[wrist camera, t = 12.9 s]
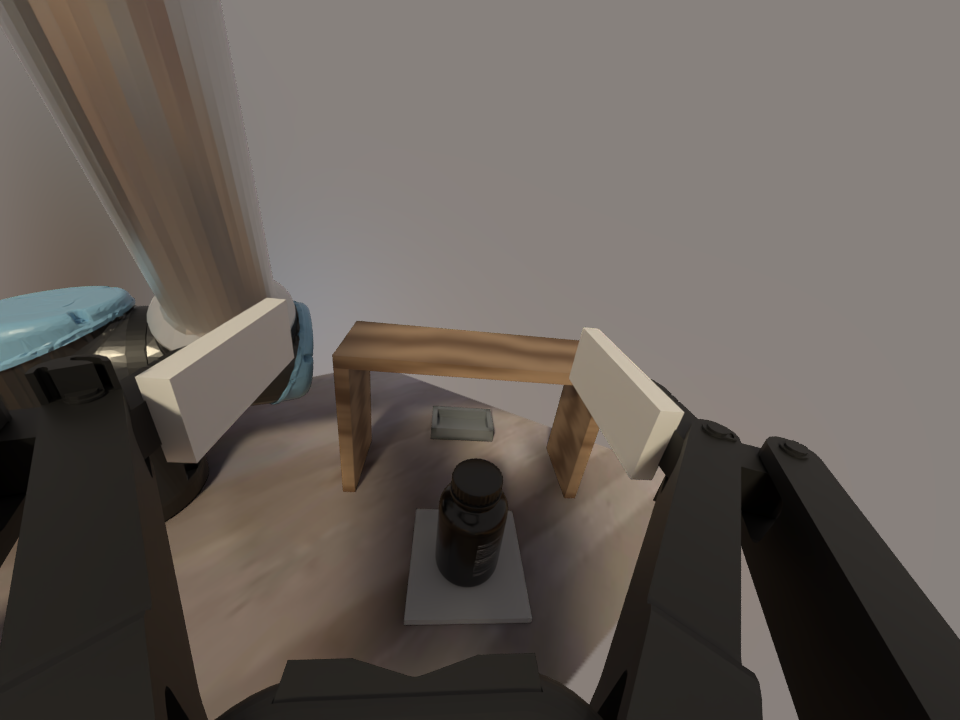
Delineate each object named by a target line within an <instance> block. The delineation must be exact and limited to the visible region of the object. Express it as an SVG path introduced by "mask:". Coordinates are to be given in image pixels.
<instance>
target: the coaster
mask: <svg viewBox="0 0 960 720" xmlns="http://www.w3.org/2000/svg"><path fill="white" fill-rule="evenodd" d="M438 510H439V509H416V517H415V526H414V535H413V544H412V553H411V562H410V571H409V580H408V589H407V598H406V607H405V616H404V625H432V624H491V623H531V620H532V615H531V609H530V604H529V599H528V593H527V588H526V582H525V577H524V572H523V566H522V561H521V555H520V550H519V545H518V539H517V534H516V528H515V523H514V518H513V512H512V511H508V515H507V520H506V525H505V530H504V534H503V539H502V544H501V549H500V554H499V558H498V563H497V566H496V569H495V571H494V573H493V574H492V576H491V577H490V578H489V579H488V580H487V581H486V582H484V583H483V584H481V585H478V586H475V587H460V586H456V585H454V584H452V583H450V582H449V581H447V580H446V579H445V578H444V577H443V576H442V574H441V573H440V571H439V569H438V567H437V564H436V559H435V550H436V536H437V523H438Z"/></svg>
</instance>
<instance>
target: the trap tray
mask: <svg viewBox="0 0 960 720" xmlns="http://www.w3.org/2000/svg"><path fill="white" fill-rule="evenodd" d="M493 433H494V429H493V423H492V417H491V411H490V409H478V408H461V407H445V406H433V416H432V427H431V439H448V440H469V441H489V442H492V439H493Z"/></svg>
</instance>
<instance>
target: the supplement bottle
mask: <svg viewBox="0 0 960 720" xmlns="http://www.w3.org/2000/svg"><path fill="white" fill-rule="evenodd" d="M502 485H503V476H502V473H501V472H500V470H499V469H498V468H497V466H495V465H494V464H493V463H490V462H489V461H486V460H482V459H477V458H475V459H467V460H465V461H462V462H461V463H459V464H458V465H457V466H456V468H455V469H454V471H453V474H452V481H451V483H450V484H449V485H448V486H447V487H446V488H445V489H444V491H443V492H442V494H441V497H440V501H439V510H438V523H437V536H436V550H435V559H436V564H437V567H438V569H439V571H440V573H441V574H442V576H443V577H444V578H445V579H446V580H447V581H449V582H450V583H452V584H454V585H456V586H460V587H475V586H478V585H481V584H483V583H484V582H486V581H487V580H488V579H489V578H490V577H491V576H492V574H493V573H494V571H495V569H496V566H497V563H498V558H499V554H500V549H501V544H502V539H503V534H504V530H505V525H506V520H507V515H508V503H507V499H506V497H505V495H504V493H503V491H502Z"/></svg>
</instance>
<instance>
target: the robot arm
mask: <svg viewBox="0 0 960 720" xmlns="http://www.w3.org/2000/svg"><path fill="white" fill-rule="evenodd" d="M0 27H1V29H2V30H3V32H4V34H5V36H6V38H7V39H8V41H9V43H10V45H11V46H12V48H13V50H14V52H15V53H16V55H17V57H18V59H19V60H20V62H21V64H22V65H23V67H24V69H25V71H26V72H27V74H28V76H29V77H30V79H31V81H32V83H33V85H34V86H35V88H36V90H37V91H38V93H39V95H40V97H41V98H42V100H43V102H44V104H45V105H46V107H47V109H48V111H49V112H50V114H51V116H52V118H53V119H54V121H55V123H56V125H57V126H58V128H59V130H60V131H61V133H62V135H63V137H64V138H65V140H66V142H67V144H68V145H69V147H70V149H71V151H72V152H73V154H74V156H75V157H76V159H77V161H78V163H79V164H80V166H81V168H82V169H83V171H84V173H85V175H86V177H87V178H88V180H89V182H90V184H91V185H92V187H93V189H94V190H95V192H96V194H97V196H98V197H99V199H100V201H101V203H102V204H103V206H104V208H105V210H106V211H107V213H108V215H109V217H110V218H111V220H112V222H113V224H114V225H115V227H116V229H117V230H118V232H119V234H120V235H121V237H122V239H123V241H124V242H125V244H126V246H127V248H128V250H129V251H130V253H131V255H132V257H133V258H134V260H135V261H136V263H137V265H138V267H139V268H140V270H141V272H142V274H143V276H144V277H145V279H146V281H147V283H148V284H149V286H150V288H151V289H152V291H153V293H154V295H155V296H154V298H153V299H152V301H151V303H150V305H149V306H136V305H135V299H134V298H133V297H131V295H130V294H129V293H128V292H127V291H126V290H124V289H121V288H117V287H114V288H110V287H108V286H87V287H73V288H64V289H57V290H49V291H43V292H36V293H31V294H26V295H21V296H16V297H11V298H7V299H3V300H0V567H1V565H2V564H3V562H4V561H5V559H6V557H7V556H8V554H9V552H10V551H11V549H12V547H13V546H14V544H15V542H16V541H17V539H18V537H19V540H18V546H17V552H16V557H15V563H14V569H13V575H12V581H11V587H10V593H9V599H8V605H7V611H6V617H5V622H4V628H3V634H2V640H1V646H0V720H208V718H207V715H206V712H205V709H204V707H203V704H202V700H201V697H200V693H199V689H198V684H197V679H196V674H195V670H194V665H193V660H192V655H191V650H190V645H189V640H188V635H187V630H186V625H185V620H184V615H183V610H182V605H181V600H180V595H179V590H178V585H177V580H176V575H175V570H174V565H173V560H172V555H171V550H170V545H169V540H168V535H167V530H166V525H165V521H166V520H167V519H169V518H171V517H172V516H173V515H175V514H176V513H178V512H179V511H180V510H181V509H183V508H184V507H185V506H186V505H187V504H188V503H189V502H190V501H191V500H192V499H193V498H194V497H195V496H196V495H197V494H198V493H199V491H200V490H201V489H202V487H203V486H204V484H205V482H206V480H207V477H208V472H209V467H208V463H207V460H206V457H205V454H206V453H207V452H208V451H209V450H210V449H211V447H212V446H213V445H214V444H215V443H216V442H217V441H218V440H219V439H220V438H221V437H222V436H223V434H224V433H225V432H226V431H227V430H228V429H229V428H230V427H231V426H232V425H233V424H234V422H235V421H236V420H237V419H238V418H239V417H240V416H241V415H242V414H243V413H244V412H245V411H246V409H247V408H248V407H249V406H254V405H261V404H278V403H280V402H281V401H287V400H292V399H297V398H300V397H302V396H304V395H305V394H306V393H307V392H308V391H309V389H310V386H311V383H312V376H313V357H312V356H313V330H312V322H311V316H310V312H309V309H308V307H307V306H306V305H305V304H303V303H299V302H296V301H293V300H292V298H291V296H290V294H289V293H288V291H287V290H286V289H285V288H284V287H283V286H282V285H281V284H279V283H278V282H276V281H275V280H273V276H272V271H271V265H270V260H269V255H268V249H267V245H266V239H265V233H264V228H263V223H262V218H261V212H260V207H259V202H258V197H257V191H256V186H255V181H254V175H253V170H252V165H251V160H250V154H249V148H248V143H247V138H246V133H245V128H244V122H243V117H242V112H241V106H240V101H239V95H238V90H237V85H236V80H235V74H234V69H233V65H232V64H233V63H232V58H231V53H230V48H229V42H228V37H227V32H226V26H225V21H224V16H223V10H222V5H221V0H0ZM569 379H570V381H571V382H572V384H573V386H574V387H575V389H576V391H577V392H578V394H579V396H580V397H581V399H582V401H583V402H584V404H585V405H586V407H587V409H588V410H589V412H590V414H591V415H592V417H593V419H594V420H595V422H596V424H597V425H598V427H599V428H600V430H601V432H602V433H603V435H604V437H605V438H606V440H607V442H608V443H609V445H610V447H611V448H612V450H613V451H614V453H615V455H616V456H617V458H618V460H619V461H620V463H621V465H622V466H623V468H624V470H625V471H626V473H627V474H628V476H629V478H630V479H635V480H652V479H653V477H654V475H655V473H656V471H657V469H658V466H659V467H660V468H661V469H662V471H663V472H664V473H665V477H664V479H663V481H662V483H661V485H660V487H659V489H658V491H657V493H656V495H655V497H654V499H653V501H655V505H654V509H653V512H652V515H651V518H650V521H649V525H648V528H647V531H646V534H645V537H644V541H643V544H642V547H641V550H640V553H639V557H638V560H637V563H636V566H635V569H634V573H633V576H632V579H631V582H630V586H629V589H628V592H627V595H626V598H625V602H624V605H623V608H622V611H621V614H620V618H619V621H618V624H617V627H616V630H615V634H614V637H613V640H612V643H611V647H610V650H609V653H608V656H607V659H606V662H605V666H604V669H603V672H602V675H601V678H600V681H599V683H598V686H597V688H596V690H595V693H594V695H593V698H592V700H591V702H590V705H589V704H588V703H586V702H585V701H584V700H583V699H582V698H581V697H579V696H578V695H577V694H576V693H575V692H573V691H572V690H570V689H569V688H567V687H566V686H564V685H563V684H561V683H559V682H557V681H555V680H553V679H551V678H549V677H547V676H544V675H541V674H539V673H538V667H537V662H536V656H535V653H524V654H489V655H476V656H474V657H471V658H468V659H466V660H463V661H460V662H457V663H455V664H452V665H449V666H447V667H444V668H441V669H438V670H436V671H433V672H430V673H427V674H425V675H422V676H418V677H411V676H407V675H404V674H401V673H397V672H394V671H391V670H388V669H385V668H382V667H378V666H375V665H372V664H369V663H366V662H362V661H359V660H356V659H353V658H347V659H312V660H288V661H287V664H286V667H285V669H284V672H283V675H282V678H281V681H280V683H278V684H275V685H273V686H270V687H268V688H266V689H264V690H261V691H259V692H257V693H255V694H253V695H251V696H249V697H248V698H246V699H244V700H243V701H241V702H240V703H238V704H236V705H235V706H233V707H231V708H230V709H229V710H227V711H226V712H225V713H223V714H222V715H221V716H219V717H218V718H216V719H215V720H763V717H762V697H761V690H760V684H759V681H758V679H757V677H756V675H755V674H754V673H753V672H752V671H750V670H749V669H747V668H746V667H744V666H742V663H741V547H742V549H743V553H744V556H745V559H746V562H747V565H748V568H749V570H750V574H751V577H752V580H753V583H754V586H755V589H756V592H757V595H758V598H759V601H760V603H761V607H762V610H763V613H764V616H765V619H766V622H767V625H768V628H769V631H770V634H771V637H772V640H773V643H774V646H775V649H776V652H777V655H778V658H779V661H780V664H781V667H782V670H783V673H784V676H785V679H786V682H787V685H788V688H789V691H790V694H791V697H792V700H793V703H794V706H795V709H796V712H797V715H798V718H799V720H960V639H959V638H958V637H957V635H956V634H955V633H954V631H953V630H952V629H951V628H950V626H949V625H948V624H947V622H946V621H945V620H944V618H943V617H942V616H941V615H940V613H939V612H938V611H937V609H936V608H935V607H934V605H933V604H932V603H931V602H930V600H929V599H928V598H927V596H926V595H925V594H924V593H923V591H922V590H921V589H920V587H919V586H918V585H917V583H916V582H915V581H914V579H913V578H912V577H911V576H910V575H909V573H908V572H907V570H906V569H905V568H904V566H903V565H902V564H901V563H900V561H899V560H898V559H897V557H896V556H895V555H894V554H893V552H892V551H891V550H890V548H889V547H888V546H887V544H886V543H885V542H884V541H883V539H882V538H881V537H880V535H879V534H878V533H877V531H876V530H875V529H874V528H873V527H872V525H871V524H870V522H869V521H868V520H867V518H866V517H865V516H864V515H863V513H862V512H861V511H860V509H859V508H858V507H857V505H856V504H855V503H854V502H853V500H852V499H851V498H850V496H849V495H848V494H847V492H846V491H845V490H844V489H843V487H842V486H841V485H840V484H839V482H838V481H837V479H836V478H835V477H834V476H833V474H832V473H831V472H830V470H829V469H828V468H827V466H826V465H825V464H824V463H823V461H822V460H821V459H820V458H819V457H818V456H817V455H816V454H815V453H814V452H812V451H810V450H809V449H808V448H807V447H806V446H804V445H802V444H799V443H798V442H796V441H793V440H792V441H791V440H788V439H785V438H781V437H769V438H768V439H766V441H765V443H764V444H763V446H762V447H761V448H758V447H754V446H750V445H746V444H742V443H741V441H740V439H739V437H738V436H737V435H736V434H735V433H734V432H732V431H731V430H730V429H728V428H726V427H724V426H722V425H720V424H718V423H716V422H712V421H709V420H703V419H697V418H696V417H695V416H694V415H693V414H692V413H691V412H690V411H689V410H688V409H687V408H686V407H684V406H683V404H681V403H680V402H678V400H677V399H676V398H675V397H674V396H672V395H671V393H670V392H669V391H668V390H667V389H666V388H665V387H663V386H662V385H660V384H659V383H657V382H655V381H654V380H652V379H650V378H649V377H648V376H647V375H645V374H644V373H643V372H642V371H641V370H640V369H639V368H638V367H637V366H636V365H635V364H634V363H633V362H632V361H631V360H630V359H629V358H628V357H627V356H626V355H625V354H624V353H623V352H622V351H621V350H620V349H619V348H618V347H617V346H615V344H614V343H613V342H612V341H611V340H609V339H608V338H607V337H606V336H605V335H604V334H603V333H602V332H601V331H600V330H599V329H595V328H583V330H582V334H581V337H580V340H579V344H578V348H577V351H576V355H575V358H574V362H573V365H572V369H571V373H570V376H569Z"/></svg>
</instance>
